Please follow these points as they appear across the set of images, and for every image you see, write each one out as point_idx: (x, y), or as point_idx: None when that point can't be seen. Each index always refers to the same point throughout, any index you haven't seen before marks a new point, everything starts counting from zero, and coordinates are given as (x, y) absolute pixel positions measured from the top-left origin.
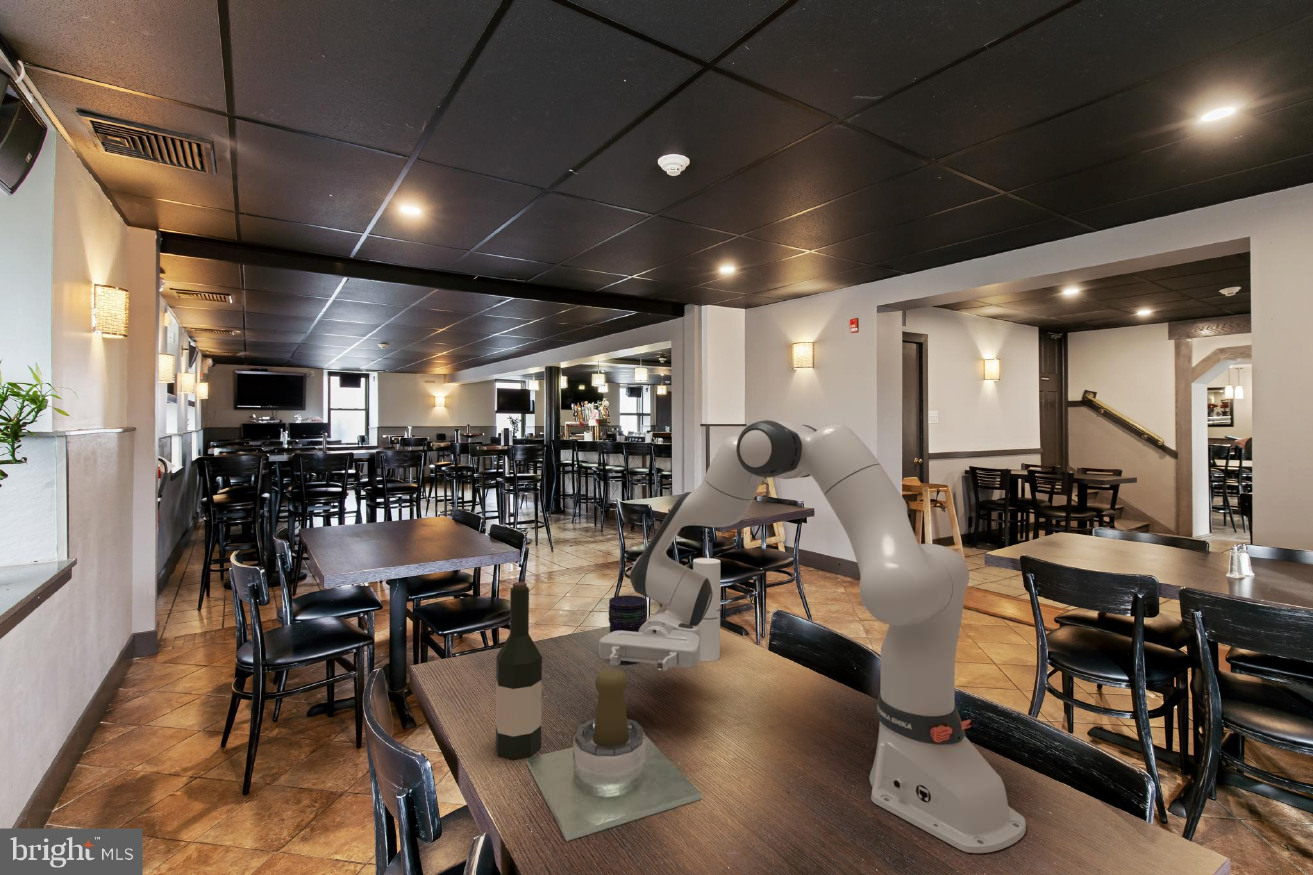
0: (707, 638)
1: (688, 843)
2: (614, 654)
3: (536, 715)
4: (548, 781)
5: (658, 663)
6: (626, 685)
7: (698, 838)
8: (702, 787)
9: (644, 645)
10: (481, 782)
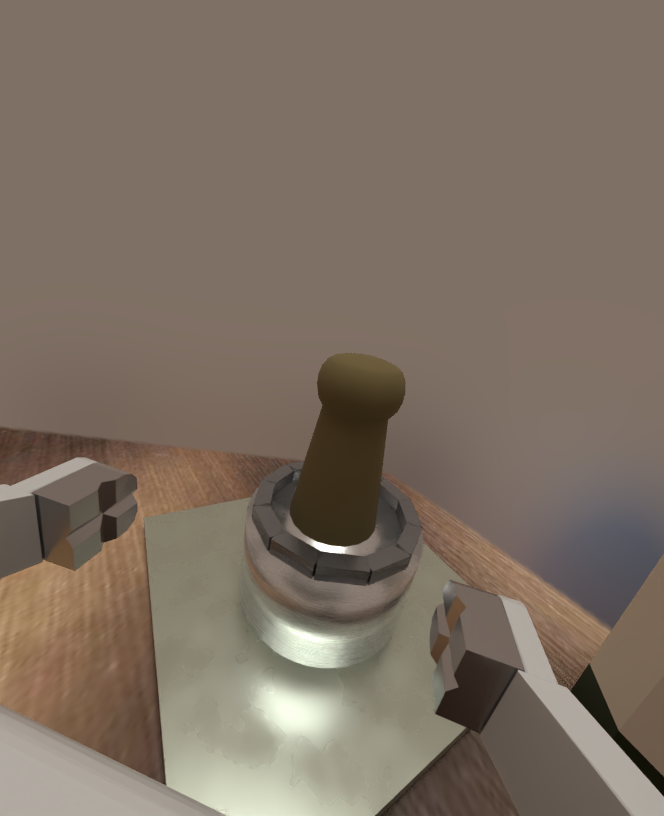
0: None
1: (208, 468)
2: (503, 622)
3: (626, 665)
4: (432, 565)
5: (130, 480)
6: (317, 382)
7: (192, 471)
8: (116, 557)
9: (106, 780)
10: (555, 596)
